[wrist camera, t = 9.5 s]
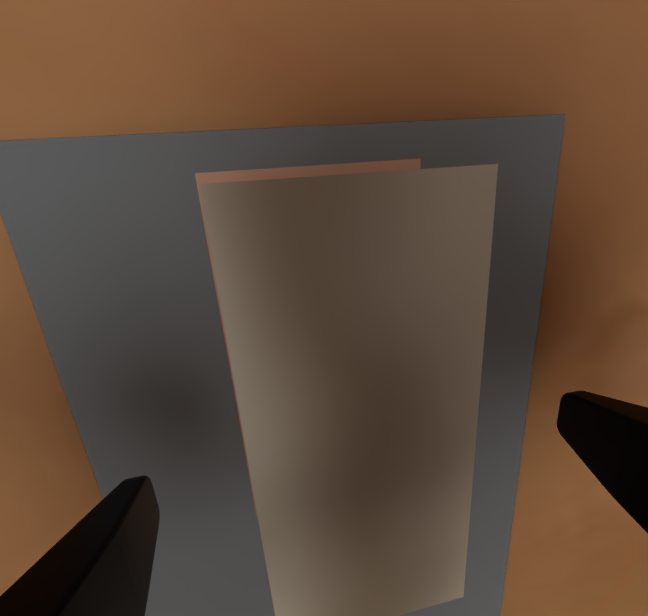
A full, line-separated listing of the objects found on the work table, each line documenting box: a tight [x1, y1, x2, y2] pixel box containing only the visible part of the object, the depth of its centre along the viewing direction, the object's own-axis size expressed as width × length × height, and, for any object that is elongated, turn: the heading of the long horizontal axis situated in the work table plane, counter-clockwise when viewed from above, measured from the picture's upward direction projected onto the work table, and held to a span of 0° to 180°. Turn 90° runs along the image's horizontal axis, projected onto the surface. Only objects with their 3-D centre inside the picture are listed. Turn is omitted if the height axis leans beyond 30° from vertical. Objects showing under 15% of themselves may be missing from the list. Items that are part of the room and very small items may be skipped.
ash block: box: [199, 164, 498, 616], centre depth 9 cm, size 5×11×4 cm, turn 4°
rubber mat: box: [0, 114, 565, 616], centre depth 13 cm, size 24×16×1 cm, turn 5°
